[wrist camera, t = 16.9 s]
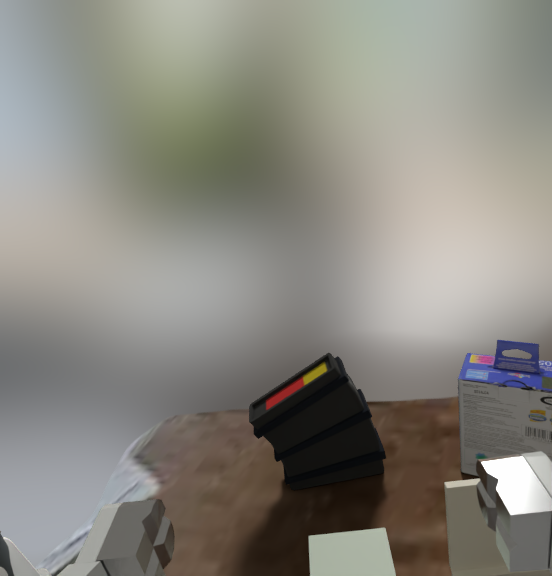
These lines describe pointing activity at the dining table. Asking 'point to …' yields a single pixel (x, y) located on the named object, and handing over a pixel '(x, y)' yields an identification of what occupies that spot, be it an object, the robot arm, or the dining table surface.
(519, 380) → the ink cartridge box
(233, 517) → the dining table surface
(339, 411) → the magazine
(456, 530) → the carton
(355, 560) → the box
